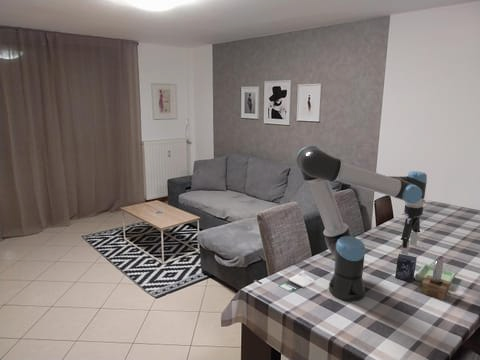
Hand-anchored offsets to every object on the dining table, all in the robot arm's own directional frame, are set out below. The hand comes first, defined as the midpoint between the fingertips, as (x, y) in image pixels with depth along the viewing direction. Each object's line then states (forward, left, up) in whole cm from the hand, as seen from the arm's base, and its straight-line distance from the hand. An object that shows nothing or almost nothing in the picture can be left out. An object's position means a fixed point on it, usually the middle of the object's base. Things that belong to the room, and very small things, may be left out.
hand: (409, 249), depth 162 cm
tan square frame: (-5, -14, -14) cm, 21 cm away
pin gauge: (-5, -14, -14) cm, 21 cm away
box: (0, 0, -15) cm, 15 cm away
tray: (+9, -11, -14) cm, 20 cm away
